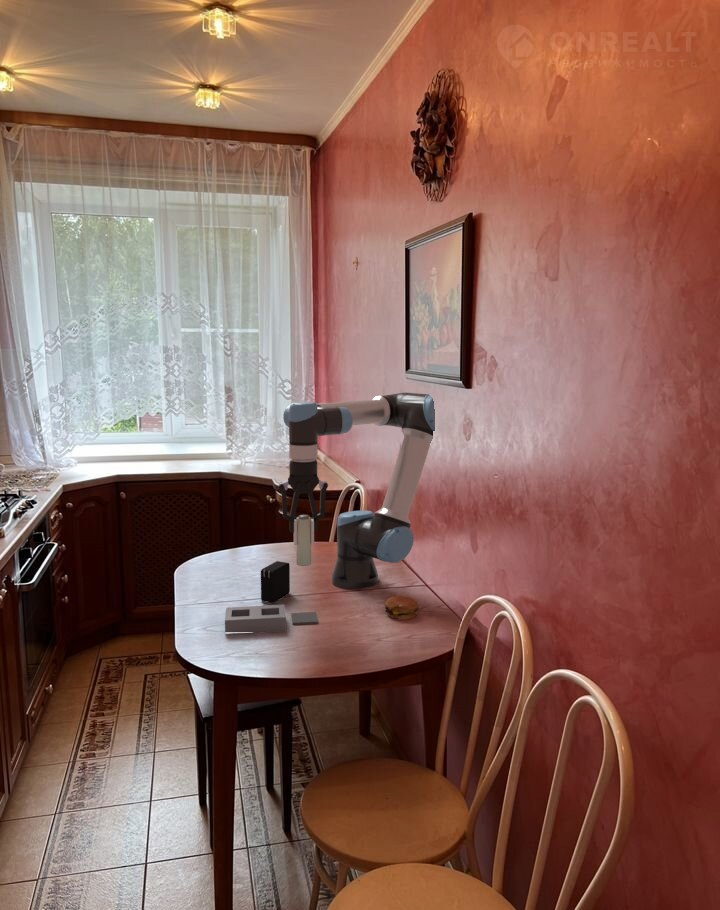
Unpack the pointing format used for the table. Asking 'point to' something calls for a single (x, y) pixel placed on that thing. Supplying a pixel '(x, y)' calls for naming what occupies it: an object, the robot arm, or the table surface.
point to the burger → (401, 607)
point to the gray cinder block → (255, 619)
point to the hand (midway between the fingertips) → (303, 543)
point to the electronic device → (275, 581)
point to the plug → (303, 540)
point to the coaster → (304, 618)
